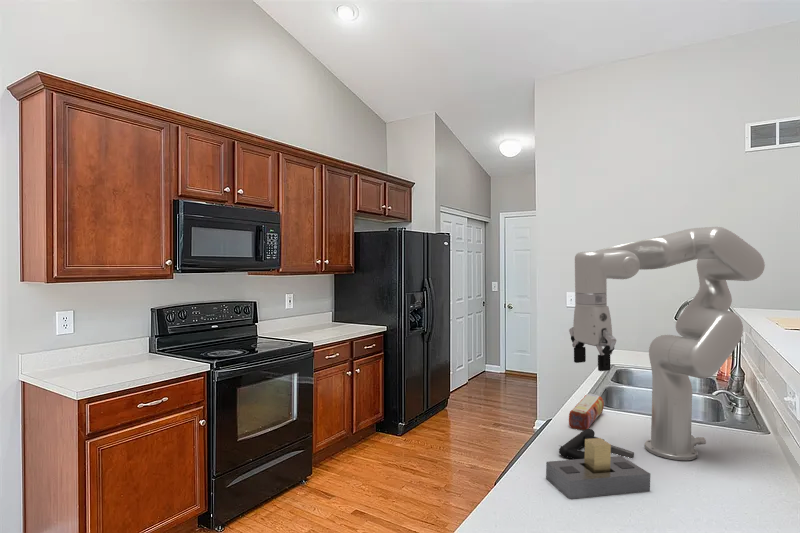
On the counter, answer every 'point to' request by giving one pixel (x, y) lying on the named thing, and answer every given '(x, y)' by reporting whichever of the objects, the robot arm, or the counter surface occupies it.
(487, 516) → the counter surface
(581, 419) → the snack package
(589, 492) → the grey peg hole block
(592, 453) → the brass peg
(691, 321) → the robot arm
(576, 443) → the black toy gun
